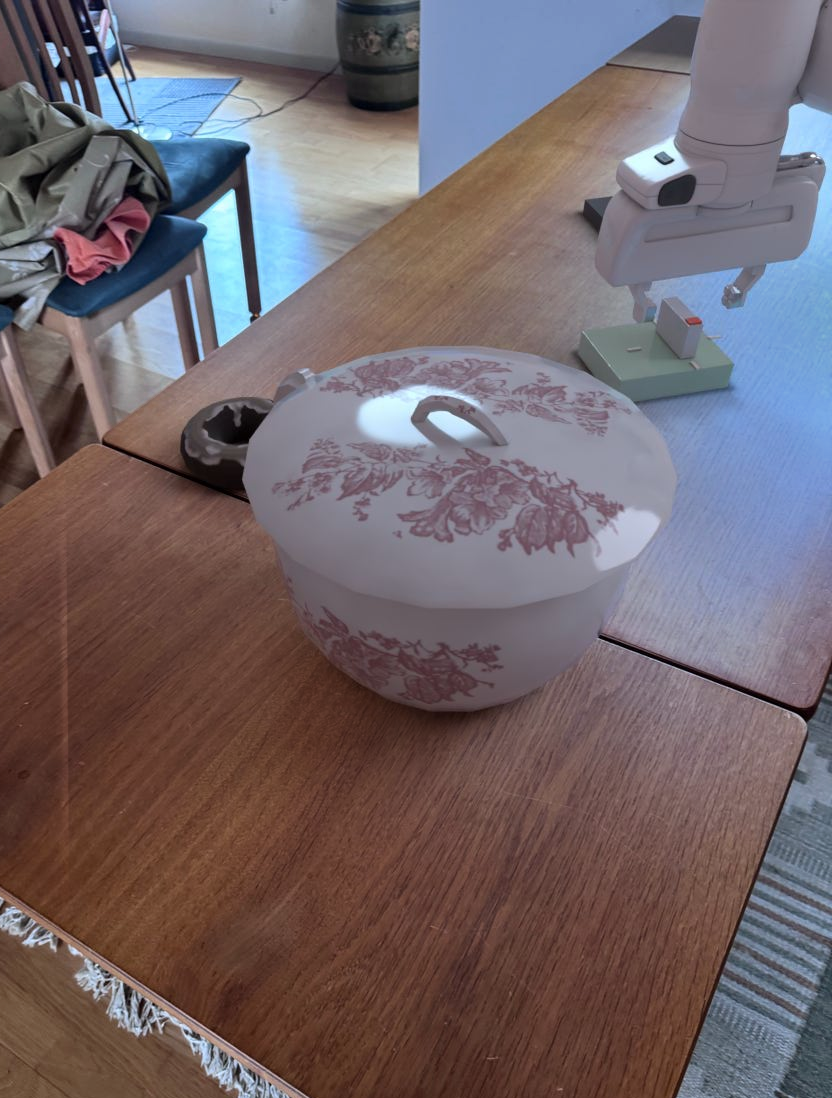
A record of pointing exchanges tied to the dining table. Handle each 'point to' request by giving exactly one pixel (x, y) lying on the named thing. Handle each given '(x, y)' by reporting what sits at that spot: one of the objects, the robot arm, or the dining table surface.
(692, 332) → the grey rectangular block
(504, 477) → the chamber pot
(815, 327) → the dining table surface
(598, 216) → the button block
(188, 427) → the donut
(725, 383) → the tap panel
